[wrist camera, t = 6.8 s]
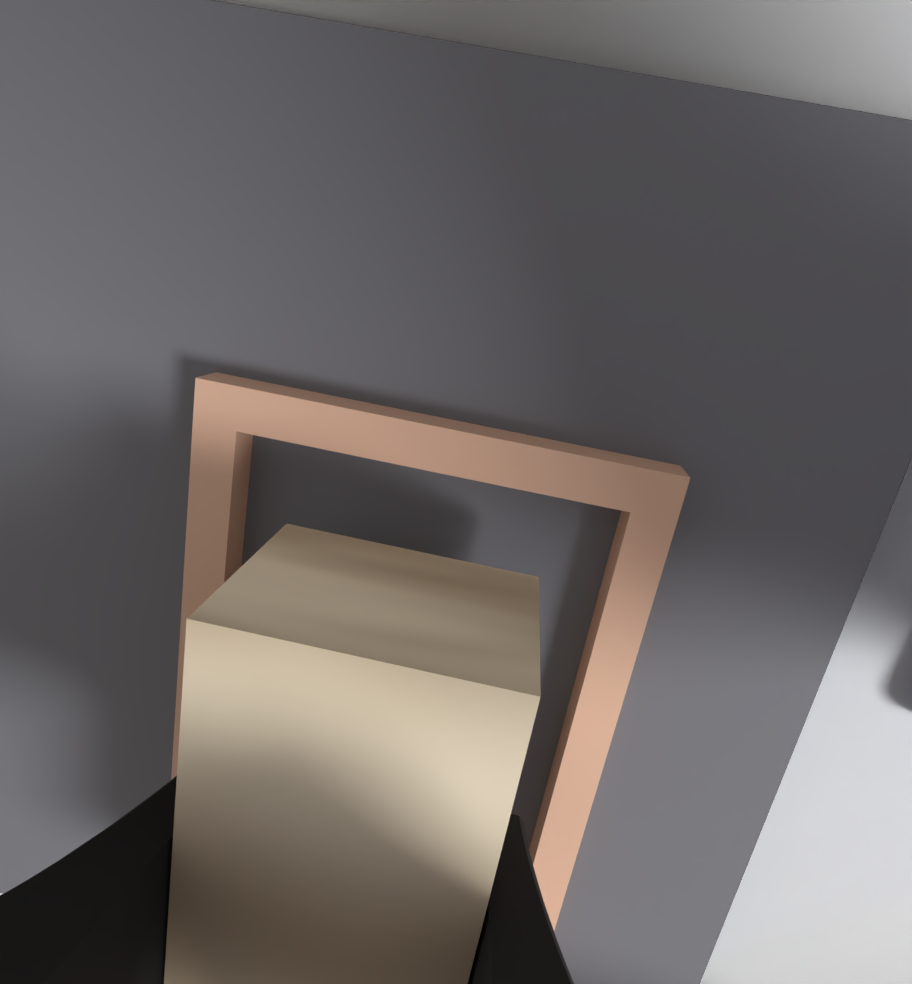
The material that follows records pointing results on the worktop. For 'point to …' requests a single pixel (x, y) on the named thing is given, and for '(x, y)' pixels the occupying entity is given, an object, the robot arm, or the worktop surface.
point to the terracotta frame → (471, 455)
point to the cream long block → (347, 763)
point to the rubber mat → (443, 393)
